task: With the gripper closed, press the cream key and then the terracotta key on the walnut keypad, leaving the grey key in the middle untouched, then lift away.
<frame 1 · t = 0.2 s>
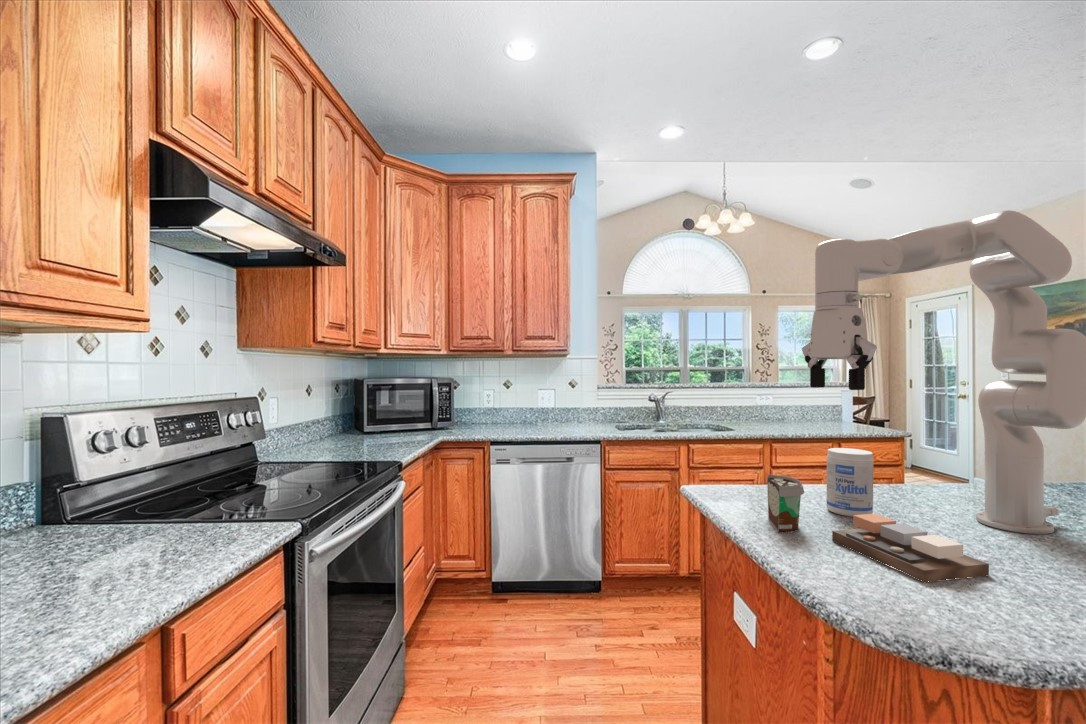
hand: (836, 388, 103), 31 cm above the countertop, tool pointing down, fingers open, 9 cm apart
cream key: (936, 546, 88), point 4 cm above the countertop, slide at 0.0 cm
food container: (788, 527, 113), on the countertop
supplement tub: (849, 513, 123), on the countertop
grey key: (903, 533, 95), point 4 cm above the countertop, slide at 0.0 cm
terracotta key: (874, 523, 101), point 4 cm above the countertop, slide at 0.0 cm
keypad board: (903, 556, 95), on the countertop
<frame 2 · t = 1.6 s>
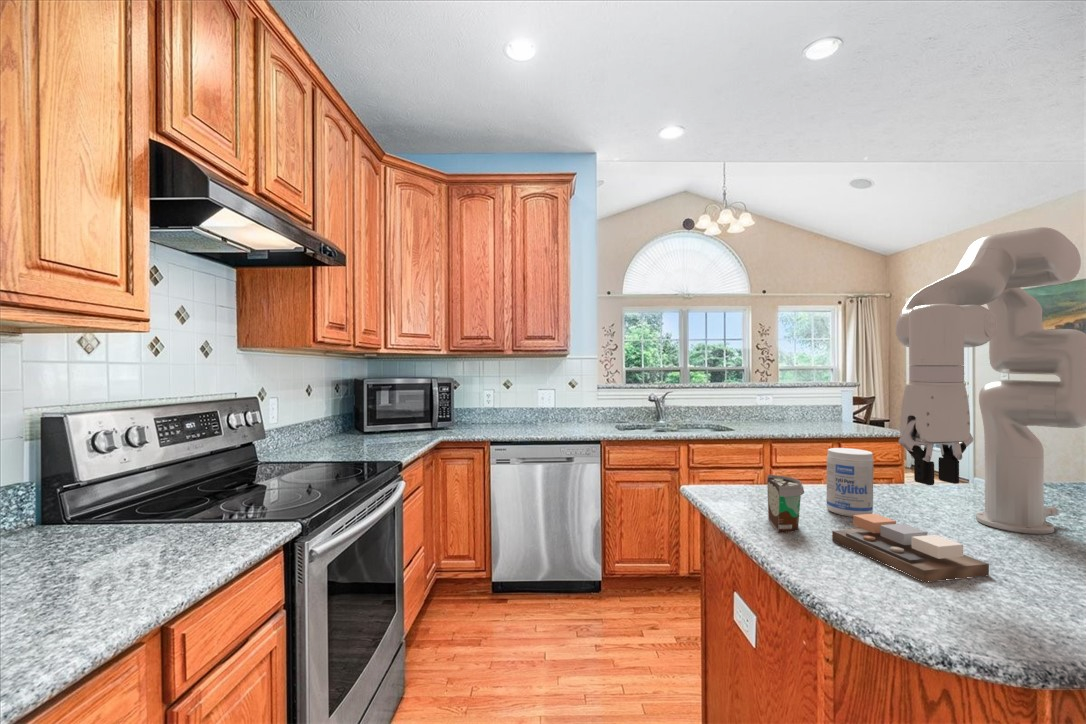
hand: (936, 481, 88), 15 cm above the countertop, tool pointing down, fingers open, 4 cm apart
nothing on the countertop moved.
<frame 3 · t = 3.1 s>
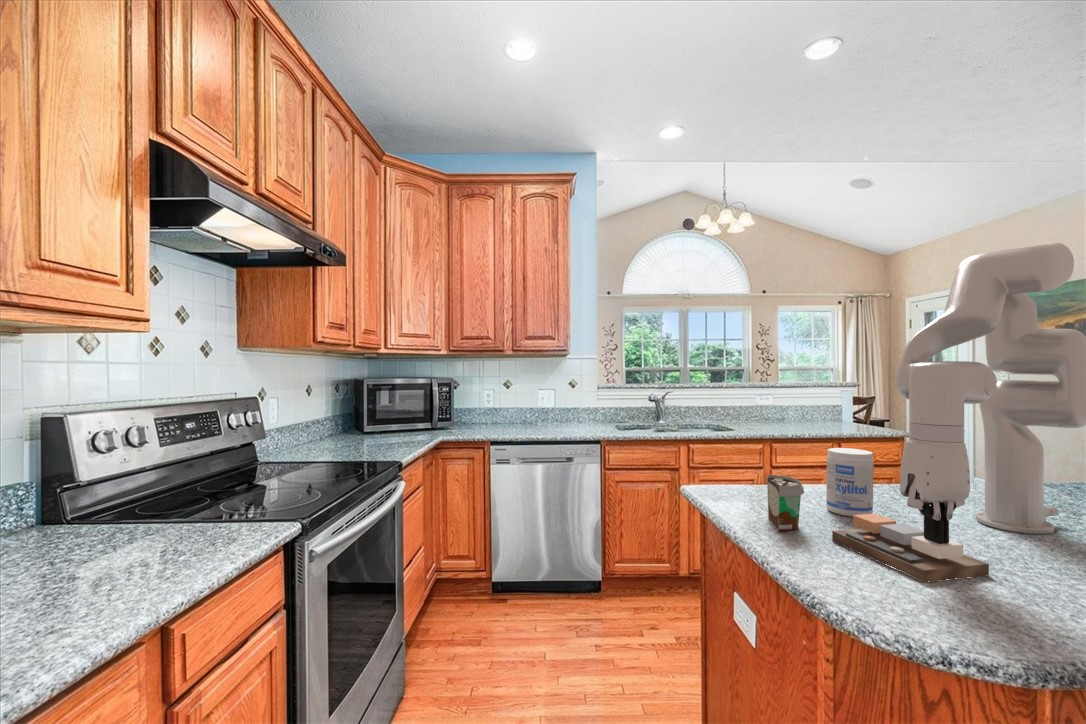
hand: (936, 540, 88), 5 cm above the countertop, tool pointing down, fingers closed
cream key: (936, 546, 88), point 4 cm above the countertop, slide at 0.0 cm, touching gripper
everything else where it was.
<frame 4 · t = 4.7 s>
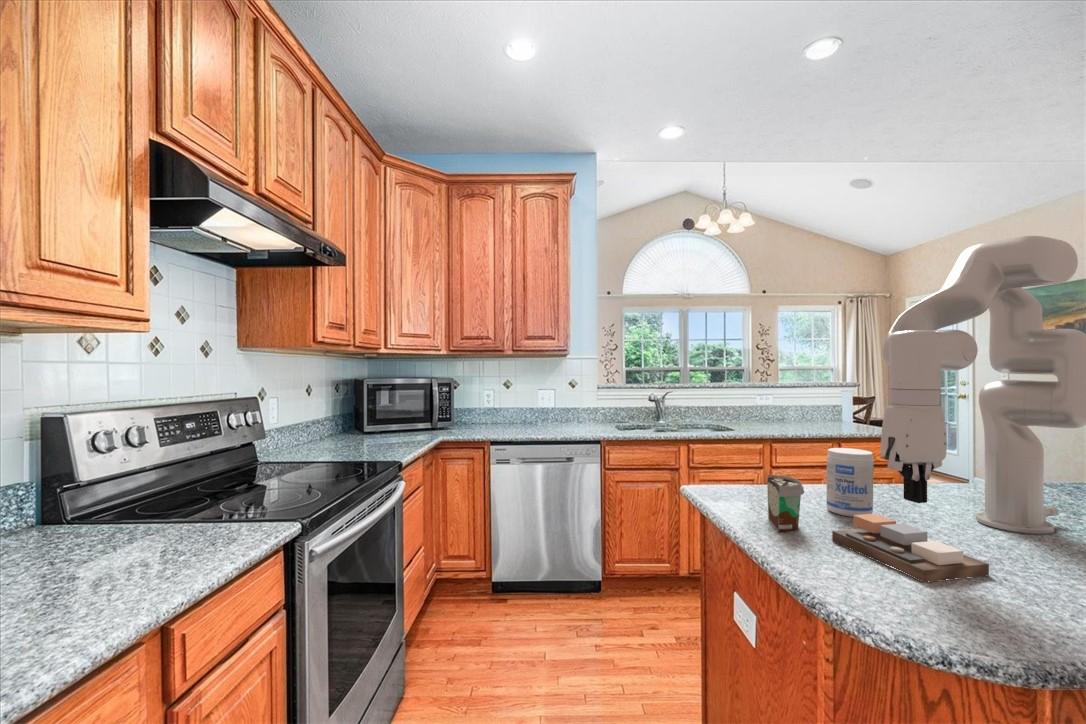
hand: (915, 500, 92), 11 cm above the countertop, tool pointing down, fingers closed
cream key: (936, 552, 88), point 3 cm above the countertop, slide at 1.1 cm
everything else where it was.
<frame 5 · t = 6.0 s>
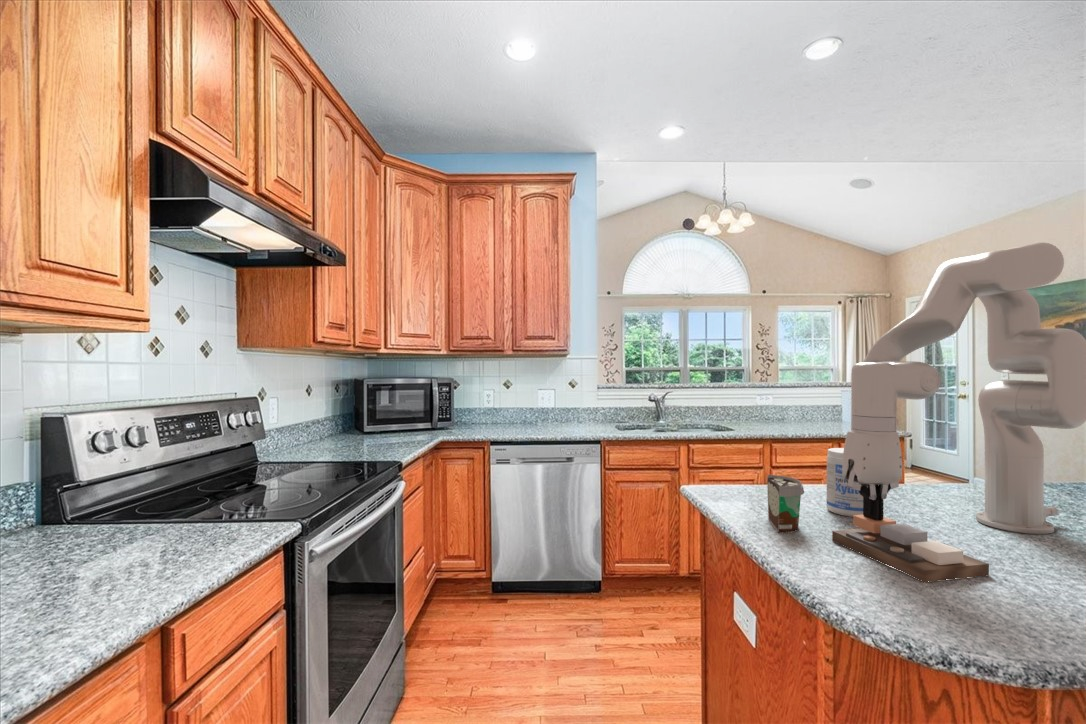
hand: (873, 518, 101), 5 cm above the countertop, tool pointing down, fingers closed
terracotta key: (874, 523, 101), point 4 cm above the countertop, slide at 0.0 cm, touching gripper
everything else where it was.
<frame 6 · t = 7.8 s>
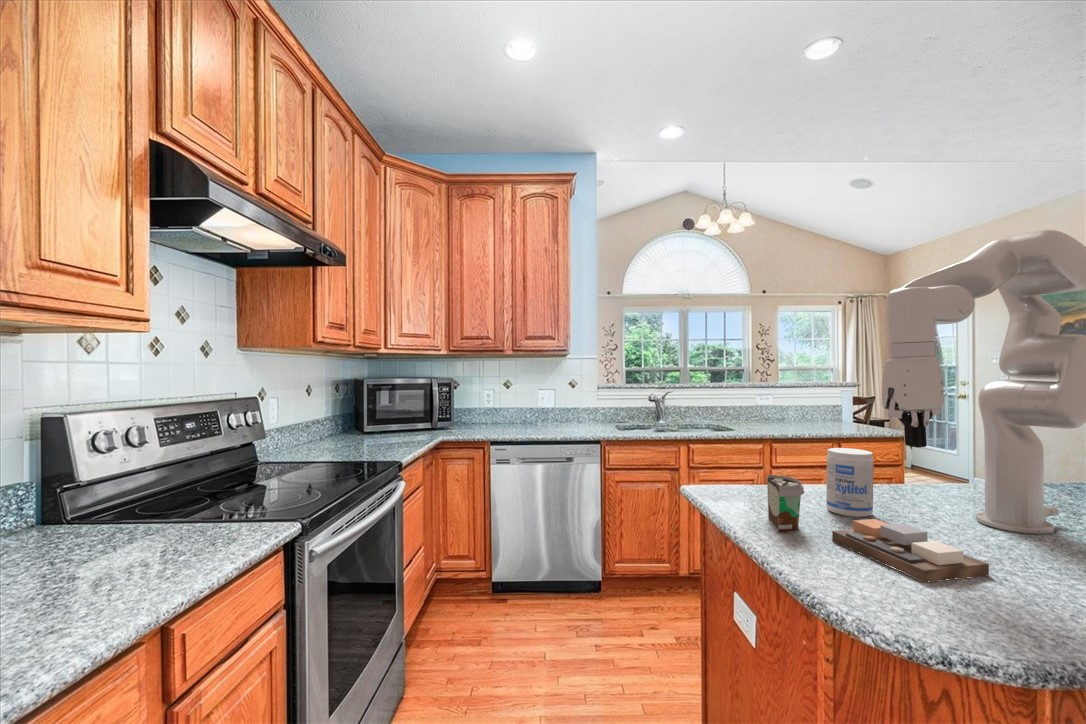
hand: (915, 446, 100), 20 cm above the countertop, tool pointing down, fingers closed
terracotta key: (874, 528, 101), point 3 cm above the countertop, slide at 1.1 cm
everything else where it was.
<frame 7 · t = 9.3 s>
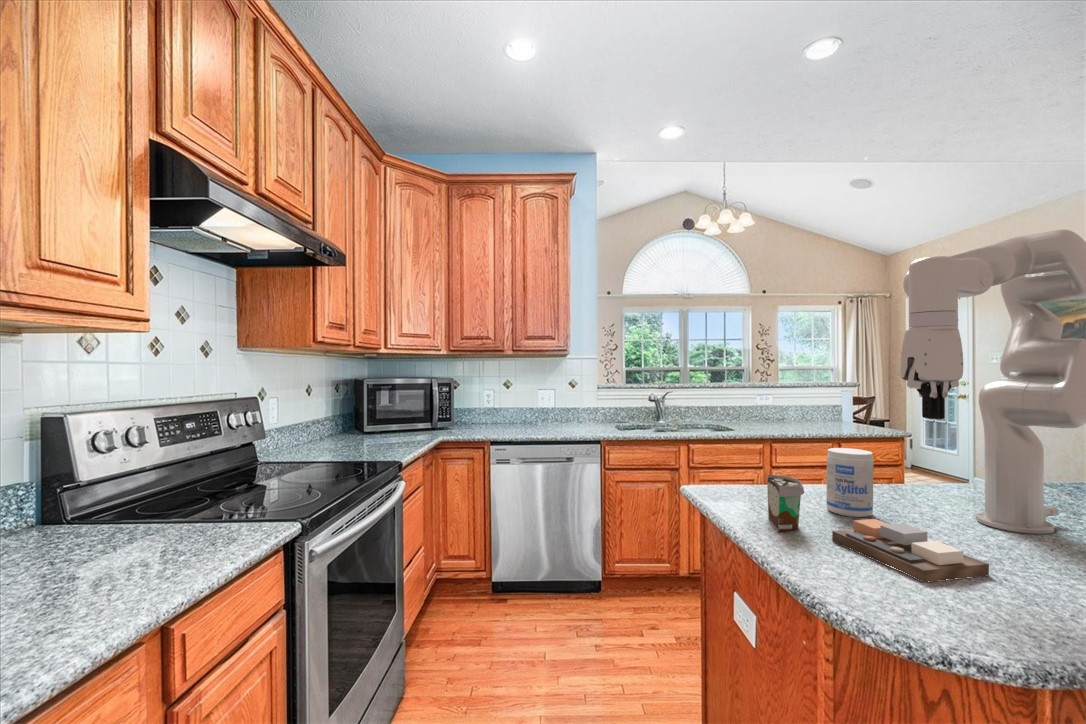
hand: (933, 418, 99), 25 cm above the countertop, tool pointing down, fingers closed
nothing on the countertop moved.
at the end: cream key slide at 1.1 cm; terracotta key slide at 1.1 cm; grey key slide at 0.0 cm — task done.
